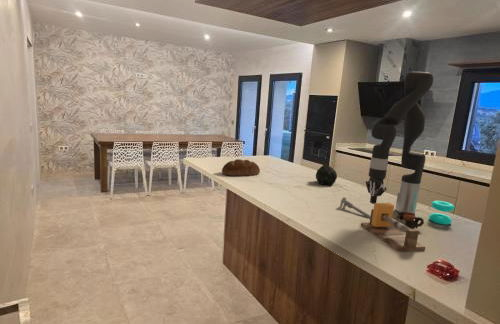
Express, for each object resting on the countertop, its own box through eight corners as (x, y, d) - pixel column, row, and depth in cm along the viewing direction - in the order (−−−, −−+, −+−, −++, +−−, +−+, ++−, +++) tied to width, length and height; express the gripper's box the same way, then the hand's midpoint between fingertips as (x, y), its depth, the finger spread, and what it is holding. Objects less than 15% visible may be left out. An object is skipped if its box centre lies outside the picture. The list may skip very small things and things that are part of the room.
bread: (218, 172, 236) (219, 157, 234) (254, 171, 248) (255, 157, 246) (226, 177, 222) (227, 161, 220) (263, 176, 234) (264, 161, 232)
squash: (338, 175, 230) (326, 158, 228) (342, 180, 215) (329, 163, 213) (322, 186, 233) (310, 170, 231) (325, 192, 218) (312, 175, 216)
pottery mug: (394, 228, 149) (394, 211, 152) (399, 232, 156) (399, 215, 159) (422, 229, 142) (422, 211, 144) (426, 233, 149) (426, 216, 151)
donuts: (459, 207, 154) (437, 205, 155) (455, 226, 156) (433, 224, 157) (448, 201, 164) (428, 199, 165) (445, 219, 166) (425, 217, 167)
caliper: (339, 207, 174) (341, 196, 173) (341, 207, 174) (342, 196, 173) (372, 219, 158) (374, 208, 156) (373, 219, 158) (375, 207, 157)
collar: (371, 224, 144) (374, 203, 142) (386, 223, 146) (389, 203, 144) (375, 226, 141) (378, 205, 139) (390, 226, 143) (394, 205, 141)
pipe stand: (361, 225, 148) (363, 208, 146) (383, 224, 151) (385, 208, 149) (399, 251, 123) (402, 231, 122) (424, 250, 126) (428, 230, 125)
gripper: (394, 170, 141) (388, 207, 144) (376, 164, 153) (371, 199, 156) (380, 170, 139) (374, 208, 142) (362, 164, 151) (357, 199, 154)
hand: (372, 203), depth 149 cm, fingers closed
